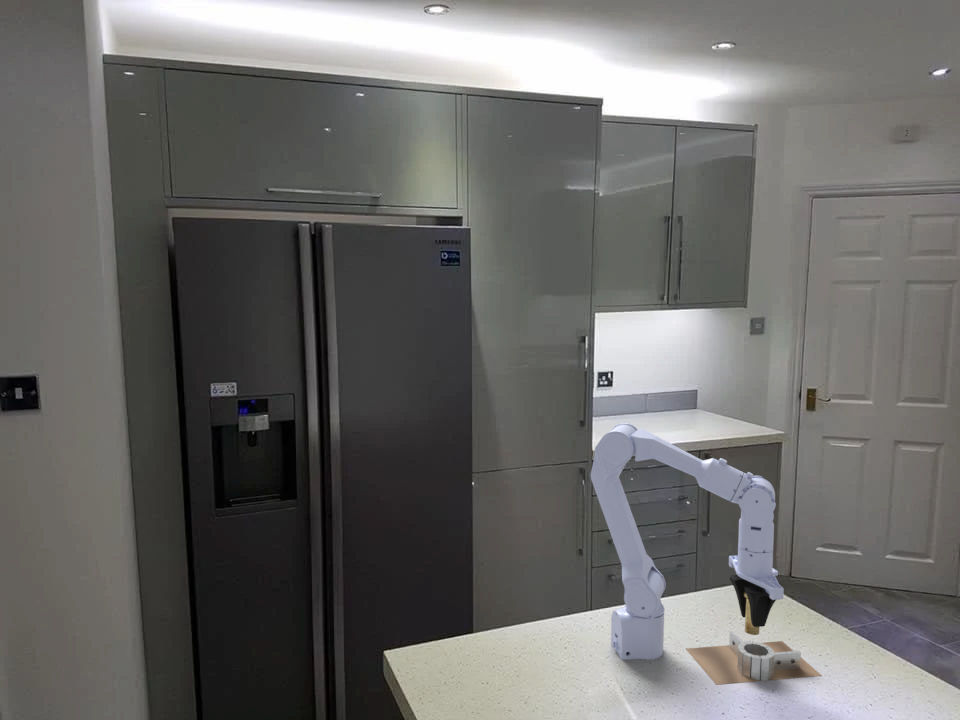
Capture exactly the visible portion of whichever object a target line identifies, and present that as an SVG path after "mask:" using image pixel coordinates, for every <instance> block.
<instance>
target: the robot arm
mask: <svg viewBox="0 0 960 720" xmlns="http://www.w3.org/2000/svg"><path fill="white" fill-rule="evenodd" d="M633 456H634V457H635V458H634V461H635V462H641V461H647V460H656V461H658V462H660V463H662V464H665V465H667V466H669V467H671V468H674V469H676V470H679V471H680V472H683V473H685V474H688V475H690V476H693V477H694V478H695V480H696V482H697V484H698V486H699V487H700V488H702V489H704V490H706V491H707V492H710V493H712V494H714V495H716V496H718V497H719V498H722V499H724V500H726V501H729V502H730V503H733V504H737V505H738V506H739V509H740V518H739V520H738V542H737V555H729V556H728V566H729V568H732V569H733V568H734V570H735V574H731V575H729V581H730V582H731V583H732V586H733V589H734V590H735V593H736V598H737V602H738V606H739V611H740V614H741V616H742V618H745V613H746V597H744V591H745V592H746V594H747V597H748V600H749V604H750V614H751V622H752V625H753V626H754V627H759V628H760V627H765V626H766V623H767V621H768V617H769V615H770V612H771V609H772V607H773V606H774V604H775V602H777V601H778V600H784V590H785V589H784V587H783V586H781V584H780V583H779V581H778V578H777V576H778V575H779V571H778V570H777V569H775V568H774V567H773V566H774V565H773V564H774V563H773V562H774V542H775V541H774V540H775V538H774V537H775V524H774V520H775V519H774V518H775V516H774V515H775V514H774V511H775V509H776V505H777V503H776V492H775V489H774V487H773V484H772V483H771V482H770V481H768V480H767V479H765V478H764V477H763V476H761V475H754V474H753V473H751V472H750V471H747V473H746V472H743V471H742V470H739V469H737V468H736V467H733V466H731V465H729V464H727V463H728V460H726V459H724V458H722V457H720V458H719V459H716V458H714V457H712V458H708V459H704V460H703V459H701V458H698V457H697V456H696V455H693V454H692V453H689V452H687V451H685V450H683V449H682V448H680V447H678V446H676V445H674V444H673V443H670V442H669V441H667V440H666V439H665V440H664V439H663V438H661V437H659V436H658V435H655V434H653V433H651V432H650V431H648V430H646V429H644V428H642V427H641V428H640V427H639V428H637V427H636V426H635V425H633V424H630V423H627V422H622V423H618V424H617V425H615V426H614V427H613V428H612V429H611V430H609V432H606V433H605V434H604V435H603V436H602V437H601V439H600V440H599V442H597V445H596V446H595V447H594V457H593V461H592V468H591V471H590V480H591V483H592V486H593V488H594V490H595V491H594V492H595V494H596V496H597V497H596V498H597V500H598V503H599V506H600V508H601V512H602V513H603V516H604V519H605V523H606V525H607V527H608V531H609V533H610V536H611V539H612V542H613V544H614V547H615V551H616V553H617V556H618V558H619V561H620V564H621V577H622V578H621V581H622V585H623V588H624V595H623V601H624V604H625V606H622V607H621V608H619V609H615V610H613V611H612V613H611V629H610V633H611V634H610V636H611V637H610V638H611V639H610V644H611V647H612V648H613V649H614V650H615V652H616V654H617V655H618V656H619V658H620V660H623V661H626V660H637V659H638V660H656V659H659V658H660V657H661V656H662V655H664V641H665V639H664V637H665V635H664V634H665V632H664V631H665V607H664V605H663V603H662V600H661V598H662V595H663V594H664V592H665V589H666V586H667V585H666V579H665V577H664V575H663V574H662V573H661V572H660V571H659V570H658V568H657V567H656V565H655V563H654V561H653V559H652V558H651V557H650V556H649V555H648V554H647V551H646V549H645V546H644V543H643V540H642V537H641V535H640V532H639V530H638V526H637V523H636V521H635V519H634V515H633V512H632V511H631V507H630V504H629V502H628V499H627V495H626V493H625V491H624V487H623V484H622V482H621V479H620V476H621V474H622V472H623V470H624V468H625V466H626V464H627V463H628V462H629V461H630V460H631V458H632V457H633ZM627 653H628V654H627Z"/></svg>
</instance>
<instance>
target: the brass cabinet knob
mask: <svg viewBox="0 0 960 720" xmlns="http://www.w3.org/2000/svg"><path fill="white" fill-rule="evenodd" d="M744 597H746V613H745V617H744V618H745V619H744V632H745V633H746V634H748V635H750V636H751V635H752V636H758V635H759V634H760V627H754V626H753V625H752V622H751V614H750V604H749V600H748V597H747V594H746V592H745V591H744Z"/></svg>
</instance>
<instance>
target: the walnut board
mask: <svg viewBox="0 0 960 720" xmlns="http://www.w3.org/2000/svg"><path fill="white" fill-rule="evenodd" d="M762 643H763V644H765V645H767V646H768V647H770V648H771V649H773V650H774V653H776V652H789V651H794V650H793V649H792V648H791V647H790V646H789V645H787V643H785V642H784V641H783V640H779V641H768V642H767V641H765V642H762ZM685 650H686V651H687V652H688V654H689V655H690V657H692V658H693V659H694V661H695V662H696V663H697V665H699V666H700V667H701V669H702V670H703V671H704V673H706V675H708V677H709V678H710V680H712V682H713V683H714V684H715V685H716V686H719V685H729V684H731V685H732V684H742V683H752V682H753V683H755V682H762V681H761V680H760V681H759V680H754V679H751V678H748V677H746V676H743V674H741V673H740V672H739V671H738V670H737V663H738V655H737V654H736V653H735V652H734V651H733V650H732V649H731V648H730V647H729V644H728V645H716V646H701V647H690V648H685ZM821 676H822V674H821V673H820V672H818V670H816V669H815V668H814V667H813V666H811V664H810V663H808V662H807V661H806V660H805V659H803V657H801V662H800V668H796V669H785V670H774V677H773V678H771V679H770V680H769V681H775V680H778V681H779V680H786V679H787V680H789V679H799V678H801V679H802V678H811V677H821ZM766 681H767V682H768V680H764V681H763V682H766Z"/></svg>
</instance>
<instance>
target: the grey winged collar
mask: <svg viewBox="0 0 960 720" xmlns="http://www.w3.org/2000/svg"><path fill="white" fill-rule="evenodd" d="M728 641H729V642H728V645H729V647H730V648H731V649H732V650H733V651H734V652H735V653H736V654H737V655H738V663H737V670H738V671H739V672H740V673H741V674H743V676H746V677H748V678H751V679H754V680H759V681H758V682H765V681H764V680H767V681H771V680H770V679H771V678H773V677H774V670H785V669H796V668H800V662H801V658H802V657H801V656H802V652H801V651H800V650H793V651H789V652H776V653H774V650H773V649H771V648H770V647H768V646H767V645H765V644H763V643H764V642H759V641H754V640H746V641H745V640H742V639H741V638H740V637H739V636H738V635H737V634H736V633H735V632H734V631H733V630H731V631H729V640H728ZM760 680H761V681H760Z"/></svg>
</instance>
